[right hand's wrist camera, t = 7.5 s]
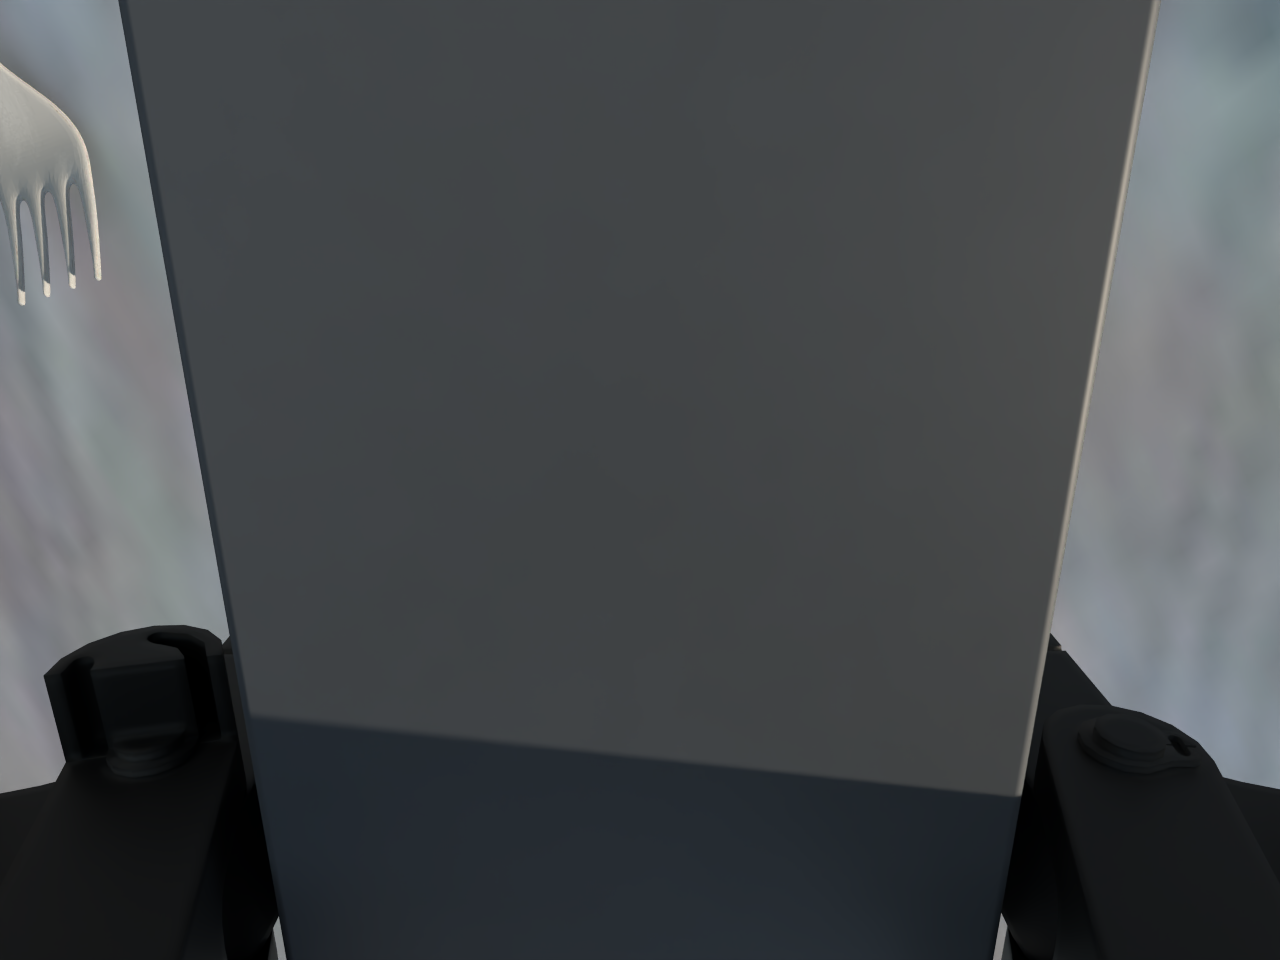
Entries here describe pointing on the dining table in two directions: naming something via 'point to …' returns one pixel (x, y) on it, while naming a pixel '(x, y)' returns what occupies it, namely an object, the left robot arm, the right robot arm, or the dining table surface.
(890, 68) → the bar
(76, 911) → the right robot arm
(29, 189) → the fork
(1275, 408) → the dining table surface
